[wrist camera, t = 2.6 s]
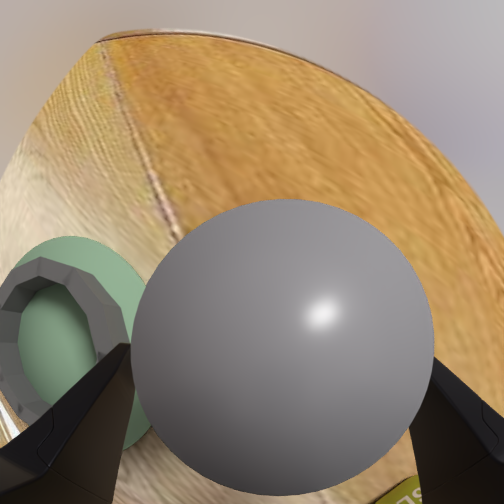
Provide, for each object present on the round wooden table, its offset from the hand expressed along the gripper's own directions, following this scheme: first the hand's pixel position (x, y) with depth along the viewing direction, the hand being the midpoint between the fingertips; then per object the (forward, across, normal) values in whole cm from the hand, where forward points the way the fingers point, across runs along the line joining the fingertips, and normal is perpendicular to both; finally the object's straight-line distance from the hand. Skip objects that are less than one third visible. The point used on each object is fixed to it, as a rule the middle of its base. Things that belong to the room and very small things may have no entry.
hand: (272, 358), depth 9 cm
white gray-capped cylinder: (+6, 0, +6) cm, 8 cm away
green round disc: (+5, +14, +7) cm, 16 cm away
